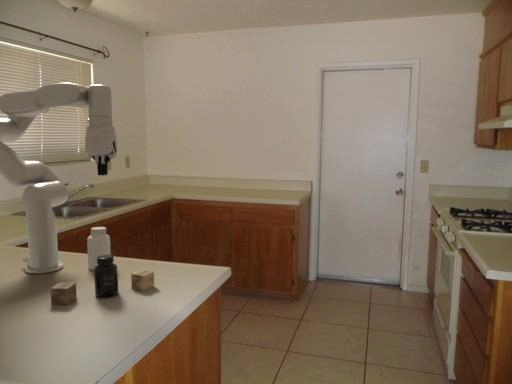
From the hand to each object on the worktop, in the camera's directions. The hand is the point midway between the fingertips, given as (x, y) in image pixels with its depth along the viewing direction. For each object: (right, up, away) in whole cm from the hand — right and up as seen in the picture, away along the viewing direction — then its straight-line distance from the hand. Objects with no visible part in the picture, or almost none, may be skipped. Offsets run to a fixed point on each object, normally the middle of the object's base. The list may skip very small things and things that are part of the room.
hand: (102, 175), depth 145 cm
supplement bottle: (+8, -38, -17) cm, 42 cm away
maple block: (+17, -37, -11) cm, 42 cm away
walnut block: (-3, -38, -23) cm, 45 cm away
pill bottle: (-5, -34, +10) cm, 36 cm away
